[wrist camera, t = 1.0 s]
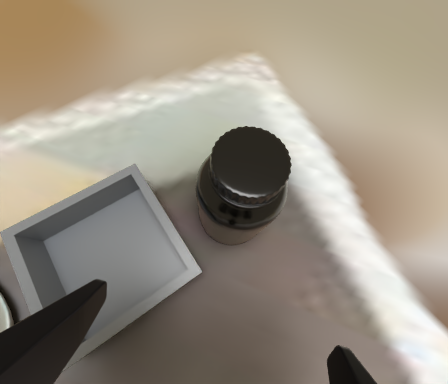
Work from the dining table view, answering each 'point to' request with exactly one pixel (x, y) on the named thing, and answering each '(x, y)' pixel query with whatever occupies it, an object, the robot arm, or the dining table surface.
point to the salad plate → (5, 315)
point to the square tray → (101, 253)
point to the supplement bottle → (242, 184)
